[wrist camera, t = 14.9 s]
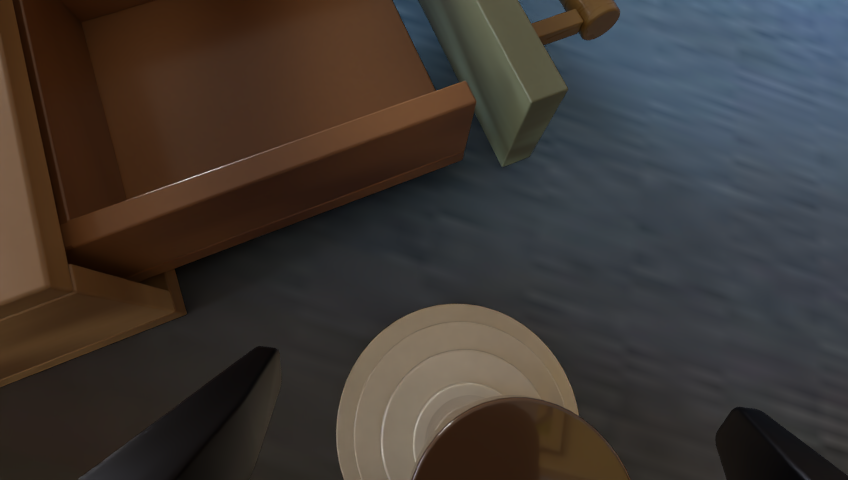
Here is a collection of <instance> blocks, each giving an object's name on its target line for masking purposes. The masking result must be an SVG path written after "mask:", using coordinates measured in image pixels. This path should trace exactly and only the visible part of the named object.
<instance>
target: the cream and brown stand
mask: <svg viewBox="0 0 848 480" xmlns="http://www.w3.org/2000/svg"><path fill="white" fill-rule="evenodd" d="M336 443H337V453H338V459H339V465H340V469H341V472H342V476H343V479H344V480H631V479H630V477H629V474H628V472H627V470H626V468H625V466H624V465H623V463H622V461H621V460H620V458H619V456H618V454H617V453H616V452H615V450H614V449H613V448H612V446H611V445H610V444H609V443H608V441H607V440H606V439H605V438H604V437H603V436H602V435H601V434H600V433H599V432H598V431H597V430H596V429H595V428H594V427H593V426H592V425H590V424H589V423H588V422H587V421H585V420H584V419H583V418H581V417H580V416H579V413H578V408H577V403H576V400H575V396H574V393H573V390H572V387H571V385H570V383H569V380H568V378H567V376H566V374H565V372H564V370H563V368H562V367H561V365H560V363H559V362H558V360H557V358H556V357H555V356H554V354H553V353H552V352H551V351H550V349H549V348H548V347H547V345H546V344H545V343H544V342H543V341H542V340H541V339H540V338H539V337H538V336H537V335H536V334H534V333H533V332H532V331H531V330H529V329H528V328H527V327H526V326H524V325H523V324H521V323H520V322H518V321H516V320H515V319H513V318H511V317H510V316H507V315H505V314H503V313H501V312H498V311H496V310H493V309H489V308H486V307H483V306H477V305H471V304H454V303H452V304H442V305H435V306H431V307H427V308H423V309H420V310H417V311H415V312H412V313H410V314H408V315H406V316H404V317H402V318H400V319H398V320H396V321H395V322H393V323H392V324H391V325H389V326H388V327H387V328H385V329H384V330H383V331H382V332H380V333H379V334H378V335H377V336H376V337H375V338H374V339H373V340H372V341H371V342H370V343H369V345H368V346H367V347H366V348H365V349H364V351H363V352H362V353H361V355H360V356H359V358H358V359H357V361H356V363H355V364H354V366H353V368H352V370H351V372H350V374H349V376H348V378H347V380H346V383H345V386H344V389H343V392H342V395H341V398H340V403H339V408H338V413H337V425H336Z"/></svg>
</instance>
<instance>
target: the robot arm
mask: <svg viewBox="0 0 848 480" xmlns="http://www.w3.org/2000/svg"><path fill="white" fill-rule="evenodd" d="M281 382H282V373H281V362H280V353H279V350H278V349H276V348H271V347H263V346H258V347H256V348H254V349H253V350H251V351H250V352H249V353H247V354H246V355H244V356H243V357H242V358H240V359H239V360H238V361H236V362H235V363H234V364H232V365H231V366H230V367H228V368H227V369H226V370H224V371H223V372H222V373H220V374H219V375H217V376H216V377H215V378H213V379H212V380H211V381H209V382H208V383H207V384H205V385H204V386H203V387H201V388H200V389H199V390H197V391H196V392H195V393H193V394H192V395H191V396H189V397H188V398H186V399H185V400H184V401H182V402H181V403H180V404H178V405H177V406H176V407H174V408H173V409H172V410H170V411H169V412H168V413H166V414H165V415H164V416H162V417H161V418H159V419H158V420H157V421H155V422H154V423H153V424H151V425H150V426H149V427H147V428H146V429H145V430H143V431H142V432H141V433H139V434H138V435H137V436H135V437H134V438H133V439H131V440H130V441H128V442H127V443H126V444H124V445H123V446H122V447H120V448H119V449H118V450H116V451H115V452H114V453H112V454H111V455H110V456H108V457H107V458H106V459H104V460H103V461H101V462H100V463H99V464H97V465H96V466H95V467H93V468H92V469H91V470H89V471H88V472H87V473H85V474H84V475H83V476H81V477H80V478H79V479H77V480H249V479H250V476H251V474H252V472H253V469H254V467H255V464H256V462H257V459H258V456H259V453H260V450H261V447H262V444H263V441H264V437H265V434H266V431H267V428H268V425H269V422H270V419H271V416H272V413H273V410H274V407H275V403H276V400H277V397H278V394H279V391H280V388H281ZM715 441H716V447H717V450H718V453H719V456H720V460H721V463H722V466H723V469H724V472H725V475H726V479H727V480H848V476H847V475H846V474H845V473H843V472H842V471H841V470H839V469H838V468H837V467H835V466H834V465H833V464H831V463H830V462H829V461H828V460H826V459H825V458H824V457H822V456H821V455H820V454H818V453H817V452H816V451H814V450H813V449H812V448H810V447H809V446H808V445H806V444H805V443H804V442H802V441H801V440H800V439H798V438H797V437H796V436H794V435H793V434H792V433H790V432H789V431H788V430H786V429H785V428H784V427H782V426H781V425H780V424H778V423H777V422H776V421H774V420H773V419H772V418H770V417H769V416H768V415H766V414H765V413H764V412H762V411H760V410H757V409H752V408H744V407H736V408H734V409H733V410H732V411H731V412H730V413H729V415H728V416H727V418H726V419H725V421H724V422H723V424H722V425H721V427H720V428H719V430H718V431H717V433H716V439H715Z"/></svg>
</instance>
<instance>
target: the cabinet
mask: <svg viewBox="0 0 848 480" xmlns="http://www.w3.org/2000/svg"><path fill="white" fill-rule="evenodd" d="M186 314H187V312H186V308H185V305H184V301H183V297H182V294H181V290H180V287H179V283H178V279H177V276H176V272H175V269H172V270H169V271H167V272H164V273H161V274H159V275H156V276H153V277H151V278H148V279H145V280H143V281H140V282H135V281H131V280H127V279H124V278H120V277H117V276H113V275H109V274H106V273H102V272H98V271H95V270H91V269H88V268H84V267H80V266H77V265H73V264H68V261H67V257H66V252H65V247H64V243H63V238H62V233H61V228H60V224H59V219H58V214H57V209H56V205H55V200H54V195H53V191H52V186H51V181H50V176H49V172H48V167H47V162H46V157H45V153H44V148H43V143H42V139H41V134H40V129H39V124H38V120H37V115H36V110H35V105H34V101H33V96H32V91H31V86H30V82H29V77H28V72H27V68H26V63H25V58H24V53H23V49H22V44H21V39H20V34H19V30H18V25H17V20H16V16H15V11H14V6H13V1H12V0H0V387H2V386H5V385H7V384H10V383H12V382H15V381H18V380H20V379H23V378H25V377H28V376H30V375H33V374H35V373H38V372H41V371H43V370H46V369H48V368H51V367H53V366H56V365H58V364H61V363H64V362H66V361H69V360H71V359H74V358H76V357H79V356H81V355H84V354H87V353H89V352H92V351H94V350H97V349H99V348H102V347H104V346H107V345H110V344H112V343H115V342H117V341H120V340H122V339H125V338H127V337H130V336H133V335H135V334H138V333H140V332H143V331H145V330H148V329H151V328H153V327H156V326H158V325H161V324H163V323H166V322H168V321H171V320H174V319H176V318H179V317H181V316H184V315H186Z"/></svg>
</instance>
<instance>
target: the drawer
mask: <svg viewBox="0 0 848 480" xmlns="http://www.w3.org/2000/svg"><path fill="white" fill-rule="evenodd" d="M12 1H13V6H14V11H15V16H16V20H17V25H18V30H19V34H20V39H21V44H22V49H23V53H24V58H25V63H26V68H27V72H28V77H29V82H30V86H31V91H32V96H33V101H34V105H35V110H36V115H37V120H38V124H39V129H40V134H41V139H42V143H43V148H44V153H45V157H46V162H47V167H48V172H49V176H50V181H51V186H52V191H53V195H54V200H55V205H56V209H57V214H58V219H59V224H60V228H61V233H62V238H63V243H64V247H65V252H66V257H67V261H68V264H73V265H77V266H80V267H84V268H88V269H91V270H95V271H98V272H102V273H106V274H109V275H113V276H117V277H120V278H124V279H127V280H131V281H135V282H140V281H143V280H145V279H148V278H151V277H153V276H156V275H159V274H161V273H164V272H167V271H169V270H172V269H175V268H177V267H180V266H183V265H185V264H188V263H190V262H193V261H196V260H198V259H201V258H204V257H206V256H209V255H212V254H214V253H217V252H220V251H222V250H225V249H228V248H230V247H233V246H236V245H238V244H241V243H244V242H246V241H249V240H252V239H254V238H257V237H259V236H262V235H265V234H267V233H270V232H273V231H275V230H278V229H281V228H283V227H286V226H289V225H291V224H294V223H297V222H299V221H302V220H305V219H307V218H310V217H313V216H315V215H318V214H321V213H323V212H326V211H328V210H331V209H334V208H336V207H339V206H342V205H344V204H347V203H350V202H352V201H355V200H358V199H360V198H363V197H366V196H368V195H371V194H374V193H376V192H379V191H382V190H384V189H387V188H390V187H392V186H395V185H397V184H400V183H403V182H405V181H408V180H411V179H413V178H416V177H419V176H421V175H424V174H427V173H429V172H432V171H435V170H437V169H440V168H443V167H445V166H448V165H451V164H453V163H456V162H459V161H461V160H462V159H463V156H464V152H465V148H466V144H467V139H468V135H469V131H470V127H471V123H472V119H473V115H474V113H475V115H476V117H477V119H478V121H479V123H480V125H481V127H482V129H483V131H484V133H485V135H486V137H487V139H488V141H489V143H490V145H491V147H492V149H493V151H494V153H495V155H496V157H497V159H498V161H499V163H500V165H501V166H502V167H504V166H507V165H509V164H512V163H515V162H517V161H520V160H522V159H525V158H528V157H530V155H531V153H532V152H533V150H534V148H535V146H536V145H537V143H538V141H539V139H540V138H541V136H542V134H543V132H544V131H545V129H546V127H547V125H548V124H549V122H550V120H551V118H552V117H553V115H554V113H555V111H556V110H557V108H558V106H559V104H560V103H561V101H562V99H563V97H564V96H565V94H566V92H567V90H568V87H567V86H566V84H565V82H564V80H563V79H562V77H561V75H560V73H559V72H558V70H557V68H556V66H555V65H554V63H553V61H552V59H551V58H550V56H549V54H548V52H547V51H546V49H545V47H544V45H546V44H549V43H552V42H554V41H557V40H560V39H563V38H566V37H569V36H572V35H574V34H577V33H578V32H579V34H580V36H581V37H582V39H584V40H592V39H595V38H597V37H599V36H601V35H603V34H604V33H605V32H607V31H608V30H609V29H610V28H611V27H612V26H613V25H614V24H615V23H616V22H617V20H618V18H619V16H620V9H619V8H618V6H617V5H616V3H615V2H614V0H559V1H560V3H561V4H562V6H563V8H564V9H565V11H566V12H564V13H561V14H558V15H555V16H552V17H550V18H547V19H544V20H541V21H538V22H535V23H532V24H531V23H530V21H529V19H528V17H527V16H526V14H525V12H524V10H523V9H522V7H521V5H520V3H519V2H518V0H418V1H419V3H420V5H421V7H422V9H423V11H424V13H425V15H426V17H427V19H428V21H429V23H430V25H431V27H432V29H433V31H434V33H435V35H436V37H437V39H438V41H439V43H440V45H441V47H442V49H443V51H444V53H445V55H446V57H447V59H448V61H449V63H450V65H451V67H452V69H453V71H454V73H455V75H456V77H457V79H458V81H459V83H457V84H454V85H451V86H448V87H445V88H443V89H440V90H437V91H436V90H435V87H434V85H433V83H432V81H431V79H430V77H429V75H428V73H427V71H426V69H425V67H424V65H423V63H422V60H421V58H420V56H419V54H418V52H417V50H416V48H415V46H414V44H413V42H412V40H411V38H410V36H409V34H408V31H407V29H406V27H405V25H404V23H403V21H402V19H401V17H400V15H399V13H398V11H397V9H396V7H395V5H394V2H393V0H12Z"/></svg>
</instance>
